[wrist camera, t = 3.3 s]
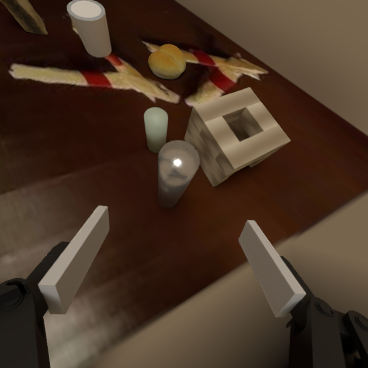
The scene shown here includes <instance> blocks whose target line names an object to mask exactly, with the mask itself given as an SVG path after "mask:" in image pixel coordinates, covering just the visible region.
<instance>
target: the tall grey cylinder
mask: <svg viewBox="0 0 368 368" xmlns="http://www.w3.org/2000/svg"><path fill="white" fill-rule="evenodd" d="M199 164H200V158H199V154H198V152H197V150H196V149H195V148H194V147H193V146H192V145H191V144H189V143H187V142H184V141H179V140H176V141H171V142H168V143H167V144H165V145H164V146H163V147H162V148H161V150H160V152H159V155H158V200H159V203H160V205H161V206H162V207H164V208H172V207H174V206H175V205H176V204H177V202H178V200H179V199H180V197H181V196H182V194H183V192H184V191H185V189H186V187H187V186H188V184H189V182H190V181H191V179H192V177H193V176H194V174H195V172H196V171H197V169H198V167H199Z"/></svg>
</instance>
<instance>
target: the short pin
mask: <svg viewBox="0 0 368 368" xmlns="http://www.w3.org/2000/svg"><path fill="white" fill-rule="evenodd" d="M144 119H145V128H146V136H147V144H148V148H149V150H151V151H152V152H155V153H159V152H160V150H161V148H162V147H163V146H164V145H165V144H166V134H167V121H168V116H167V113H166V112H165V111H164V110H162V109H160V108H156V107H154V108H150V109H148V110H147V111H146V112H145V114H144Z"/></svg>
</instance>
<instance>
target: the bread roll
mask: <svg viewBox="0 0 368 368" xmlns="http://www.w3.org/2000/svg"><path fill="white" fill-rule="evenodd" d="M148 62H149V66H150V69H151V70H152V72H153V74H155V75H156V76H157V77H160V78H162V79H175V78H178V77H179V76H180V75H181V74H182V73H183V72H184V70H185V68H186V61H185V57H184V55H183V53H182V52H181V51H180V50H179V49H178V48H177V47H176V46H174V45H170V44H166V45H163V46H161V47H160V48H159V49H158V51H156V52H153V53H152V54H151V55H150V56H149V60H148Z"/></svg>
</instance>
